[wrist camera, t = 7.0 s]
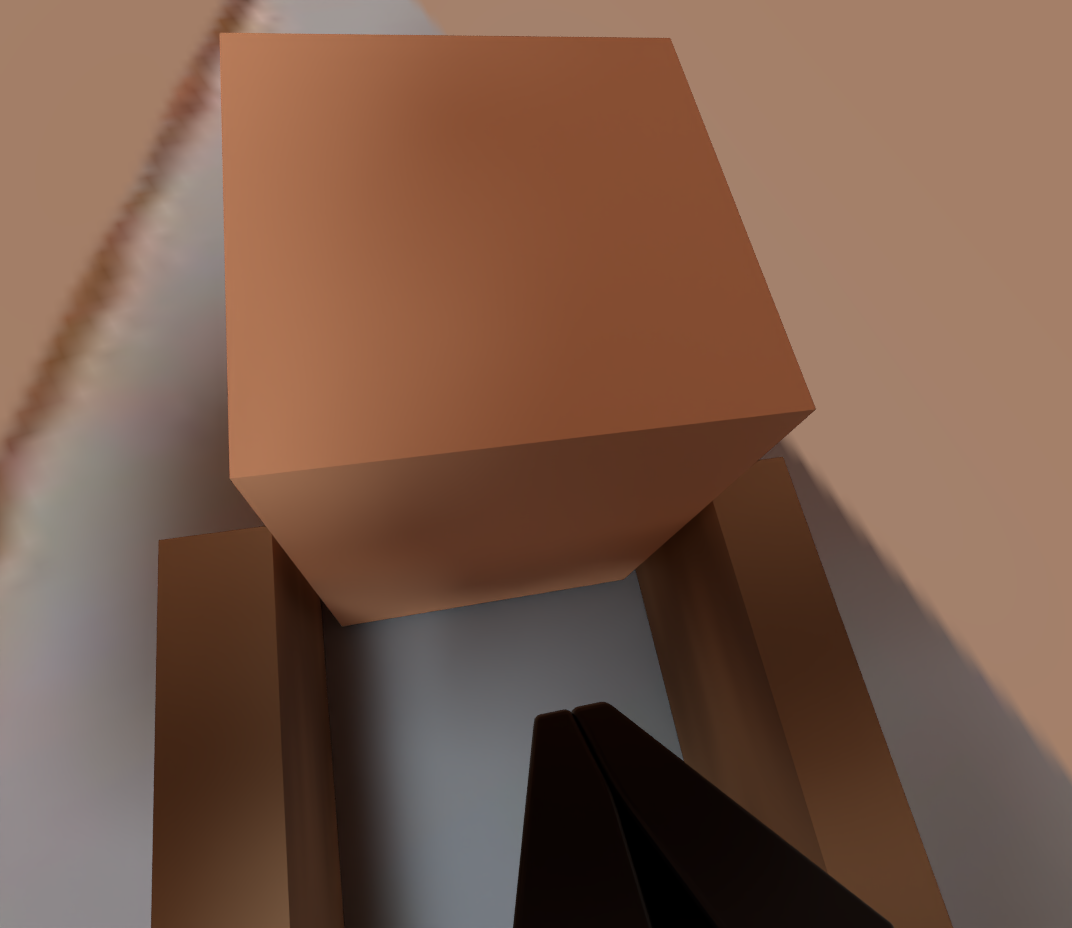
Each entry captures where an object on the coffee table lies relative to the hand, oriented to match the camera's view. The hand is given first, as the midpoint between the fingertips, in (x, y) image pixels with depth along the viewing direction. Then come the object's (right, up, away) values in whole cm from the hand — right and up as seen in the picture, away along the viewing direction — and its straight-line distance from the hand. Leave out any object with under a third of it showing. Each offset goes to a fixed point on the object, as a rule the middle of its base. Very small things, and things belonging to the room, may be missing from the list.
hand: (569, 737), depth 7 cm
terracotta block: (-2, +3, +7) cm, 8 cm away
